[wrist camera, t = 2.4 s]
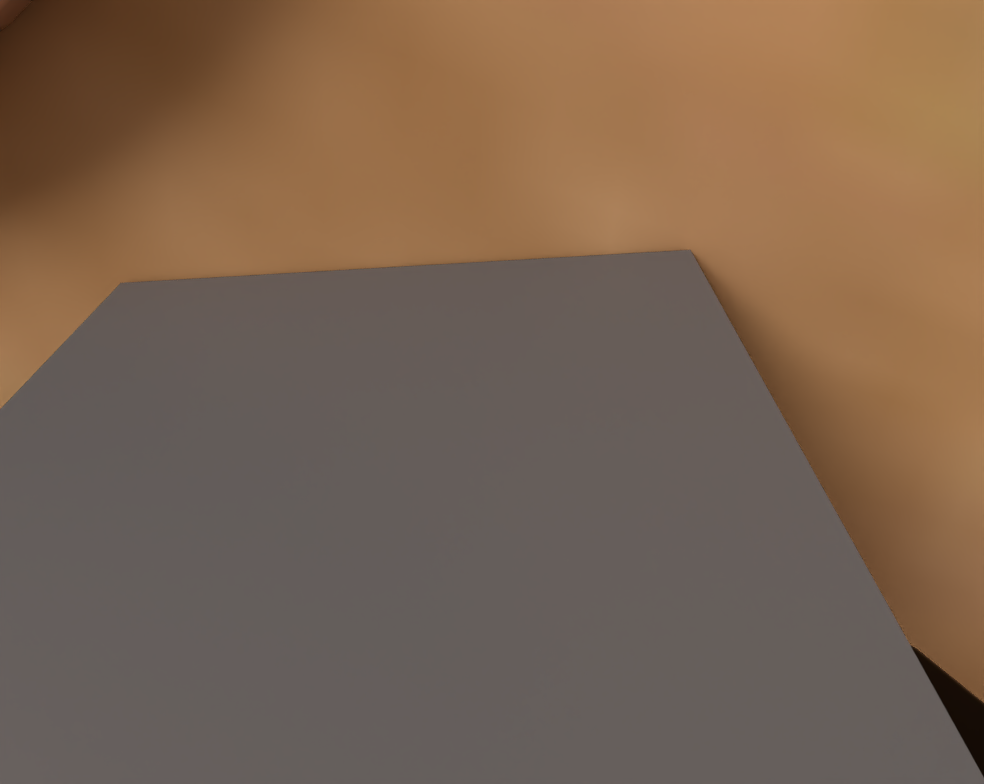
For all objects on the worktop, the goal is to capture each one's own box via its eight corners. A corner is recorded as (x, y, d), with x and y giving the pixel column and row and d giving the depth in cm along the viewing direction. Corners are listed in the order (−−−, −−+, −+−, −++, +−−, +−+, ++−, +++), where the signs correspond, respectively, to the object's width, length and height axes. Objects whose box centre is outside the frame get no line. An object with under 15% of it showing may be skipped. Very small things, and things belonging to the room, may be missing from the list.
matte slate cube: (666, 657, 13) (825, 1354, 7) (240, 676, 13) (15, 1370, 7) (690, 250, 9) (1043, 885, 3) (120, 283, 10) (-504, 941, 4)
